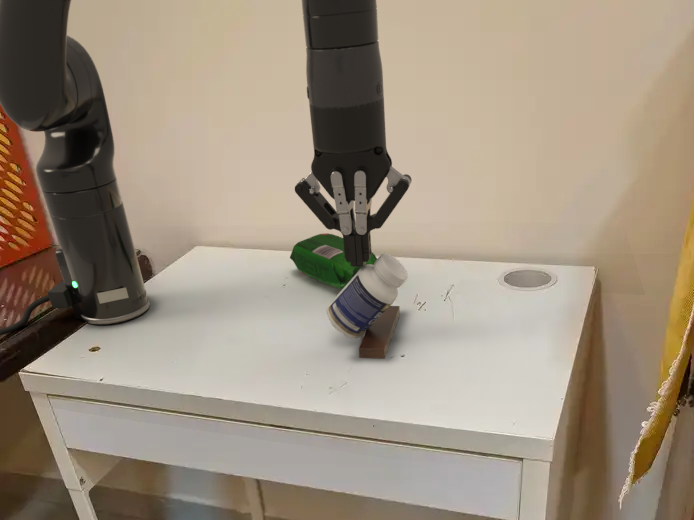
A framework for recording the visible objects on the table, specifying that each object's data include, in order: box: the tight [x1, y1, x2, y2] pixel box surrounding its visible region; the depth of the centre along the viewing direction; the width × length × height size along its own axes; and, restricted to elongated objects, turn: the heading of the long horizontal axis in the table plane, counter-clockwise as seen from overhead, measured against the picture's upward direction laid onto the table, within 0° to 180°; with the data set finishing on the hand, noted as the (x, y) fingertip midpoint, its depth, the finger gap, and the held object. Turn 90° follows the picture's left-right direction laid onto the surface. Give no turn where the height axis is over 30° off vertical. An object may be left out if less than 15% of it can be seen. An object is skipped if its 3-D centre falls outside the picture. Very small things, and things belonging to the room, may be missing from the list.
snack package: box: [289, 233, 378, 290], centre depth 102 cm, size 7×16×5 cm, turn 35°
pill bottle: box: [325, 252, 409, 340], centre depth 84 cm, size 5×5×10 cm
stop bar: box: [358, 305, 401, 359], centre depth 88 cm, size 3×12×1 cm, turn 168°
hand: (358, 264), depth 82 cm, fingers closed
